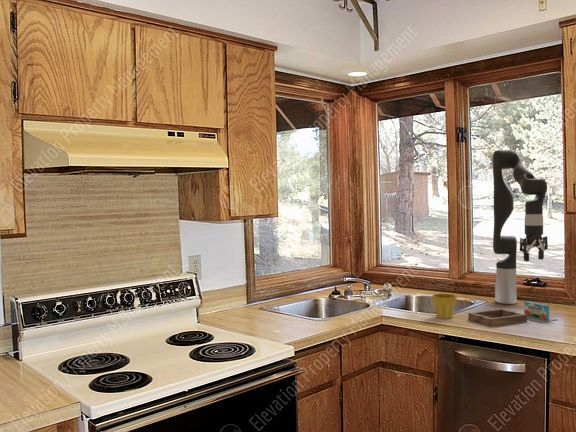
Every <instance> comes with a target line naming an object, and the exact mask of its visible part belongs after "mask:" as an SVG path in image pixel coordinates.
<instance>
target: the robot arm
mask: <svg viewBox="0 0 576 432" xmlns="http://www.w3.org/2000/svg"><path fill="white" fill-rule="evenodd" d="M491 157H492V158H491V162H492V164H491V165H492V174H493V178H492V179H493V237H492V238H493V239H492V249H493V250H492V251H493V253H494V254H495V255H508V256H507V257H506V258H504V259H501V260H499V261H496V267H495V268H496V271H495V273H496V276H495V277H496V281H495V282H494V296H495V297H494V302H497V303H498V304H504V305H505V304H506V305H510V304H511V305H514V304H517V251H518V250H517V249H518V247H517V246H518V241H517V240H518V239H517V238H516V236H515V235H502V230H503V228H504V225H505V224H506V221H508V219H509V218H510V216H511V215H512V213H513V211H514V207H515V205H514V198H515V197H514V194H513V192H512V190H511V188H510V187H509V185H508V184H507V182H506V181H505V178H504V175H503V170H511V169H512V177H513V179H514V180H515V181H516V182H517V184H518V185H519V187H520V190H521V193H523V195H526V196H534V198H533V199H531V200H527V201H526V202H525V203H524V208H525V209H524V212H525V213H524V214H525V215H524V234H525V237H520V239H519V252H522V253H523V260H524V261H523V262H530V251H531V250H532V249H533V248H536V249H537V250H538V252H537V253H538V254H537V255H538V256H537V257H538V258H537V259H538V260H541V261H543V260H544V258H545V251H546V250H548V248H549V245H548V243H549V242H548V236H547V235H544V214H543V213H544V210H543V208H544V207H543V206H544V205H543V204H544V201H545V197H546V194H547V191H548V183H547V181H546V180H545V179H543V178H535V176H534V174H533V173H532V172H531V171H530V170H529V169H528V168H527V166H525V165H524V163H523V161H522V159H521V158H520V155H519V154H518V153H517V151H514V150H512V149H503V150H500V149H499V150H498V149H497V150H495V151H494V152H493V153H492V156H491Z"/></svg>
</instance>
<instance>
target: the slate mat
mask: <svg viewBox="0 0 576 432" xmlns="http://www.w3.org/2000/svg"><path fill="white" fill-rule="evenodd" d="M528 320H529V321H533V322H538V323H548V322H552V321H559V319H558V318H557V319H556V318H553V317H549V320H542V319H538V318H534V317H530V316H527V321H528Z"/></svg>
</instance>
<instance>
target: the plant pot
mask: <svg viewBox="0 0 576 432" xmlns="http://www.w3.org/2000/svg"><path fill="white" fill-rule="evenodd" d="M431 299H432V303H433V306H434V310H435V314H436V318H438V319H442V320H448V319H452V318H453V315H454V311H455V306H456V304H457V299H458V298H457V295H455V294H452V293H444V292H443V293H442V292H441V293H434V294H432V296H431Z"/></svg>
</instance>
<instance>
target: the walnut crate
mask: <svg viewBox="0 0 576 432" xmlns="http://www.w3.org/2000/svg"><path fill="white" fill-rule="evenodd" d="M467 317H468V321H471V322H475V323H478V324H481V325H485V326H489V327H499V326H506V325H513V324H519V323H520V324H521V323H527V322H528V319H527V314H524V313H523V312H522V313H521V312H518V311H515V310H514V311H513V310H510V309H505V308H498V309H488V310H481V311H474V312H468V316H467Z"/></svg>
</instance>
